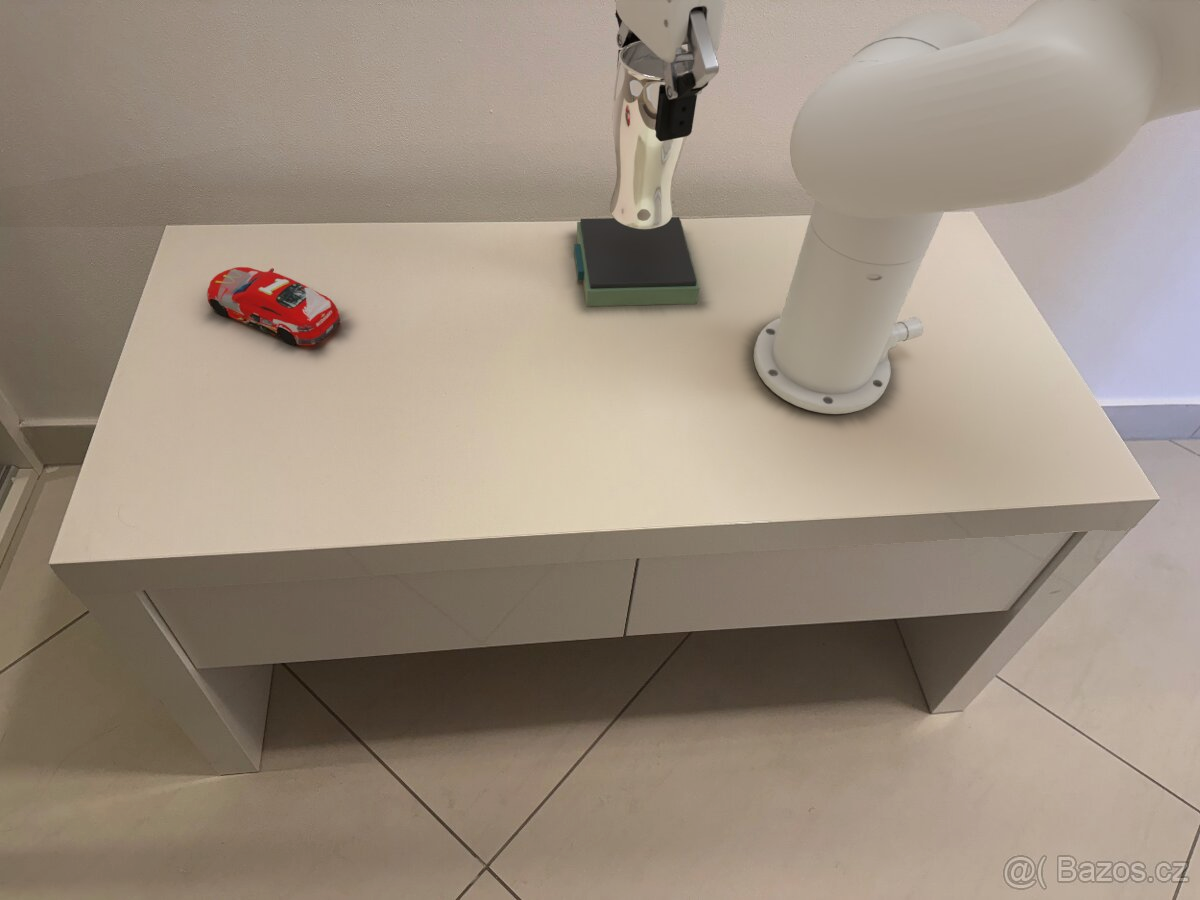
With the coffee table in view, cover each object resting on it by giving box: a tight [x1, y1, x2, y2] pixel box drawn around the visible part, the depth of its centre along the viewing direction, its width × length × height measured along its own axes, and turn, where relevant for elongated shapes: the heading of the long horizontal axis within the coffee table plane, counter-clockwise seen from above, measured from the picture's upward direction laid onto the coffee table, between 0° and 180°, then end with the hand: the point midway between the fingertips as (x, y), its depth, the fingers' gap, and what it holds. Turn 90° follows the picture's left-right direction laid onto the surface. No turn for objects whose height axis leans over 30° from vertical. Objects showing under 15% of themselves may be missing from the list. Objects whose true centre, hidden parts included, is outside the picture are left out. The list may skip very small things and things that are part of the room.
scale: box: [573, 216, 700, 307], centre depth 87 cm, size 12×11×3 cm
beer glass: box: [609, 41, 688, 230], centre depth 77 cm, size 7×7×15 cm
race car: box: [206, 266, 341, 346], centre depth 79 cm, size 13×5×4 cm, turn 63°
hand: (652, 112), depth 75 cm, fingers closed on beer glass, 7 cm apart
